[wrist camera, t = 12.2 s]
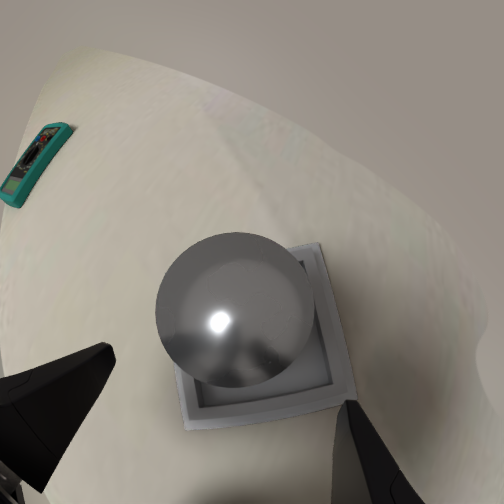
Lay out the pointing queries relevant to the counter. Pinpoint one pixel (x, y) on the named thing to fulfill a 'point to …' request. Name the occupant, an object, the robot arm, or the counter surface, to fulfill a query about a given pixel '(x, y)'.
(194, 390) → the holder
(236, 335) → the metal cylinder
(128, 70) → the counter surface
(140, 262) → the counter surface
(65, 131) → the digital multimeter
